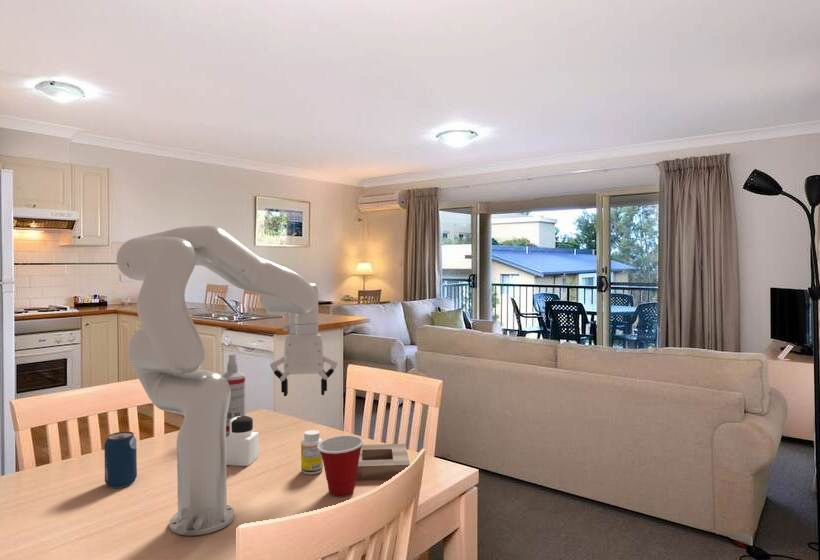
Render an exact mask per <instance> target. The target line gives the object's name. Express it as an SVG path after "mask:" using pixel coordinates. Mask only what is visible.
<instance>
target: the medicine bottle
mask: <svg viewBox="0 0 820 560" xmlns="http://www.w3.org/2000/svg"><path fill="white" fill-rule="evenodd" d="M253 422H254V420H253V417H252V416H247V415H246V416H238V417H234V418H232V419H231V420H230V434H228V435H227V436H226V466H237V467H238V466H239V467H240V466H241V467H249V466H250V465H251V464H252V463H254V462H255V461H256V460H257V459H258V458H259V456H260V455H259V454H260V451H259V446H260V445H259V443H260V442H259V440H260V439H259V432H258V431H253V430H254V429H253V428H254V427H253V426H254V424H253Z"/></svg>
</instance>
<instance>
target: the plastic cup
mask: <svg viewBox="0 0 820 560" xmlns="http://www.w3.org/2000/svg"><path fill="white" fill-rule="evenodd" d="M322 440H323V439H322ZM362 445H364V440H363V438H361V437H360V436H357V435H337V436H332V437H329V438H326V439H324V440H323V441H321V442H320V443H319V444H318V446H317V448H318V450H319V451H320V453H321V455H322V459H323V469H324V473H325V478H326V482H327V487H328V492H329V495H331V496H333V495H334V496H333V497H337V496H340V497H339V498H341V497H347V496H350V495H352V494H353V493H354V491H355V487H356V481H357V480H356V477H357V470H358V463H359V456H360V451H361V446H362Z"/></svg>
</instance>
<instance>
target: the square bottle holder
mask: <svg viewBox="0 0 820 560" xmlns="http://www.w3.org/2000/svg"><path fill="white" fill-rule="evenodd" d="M408 455H409V454H408V450H407V446H406V443H383V444H382V443H381V444H380V443H379V444H362V446H361V451H360V456H359V463H358V470H357V477H356V481H370V480H371V481H373V480H375V481H376V480H378V481H379V480H391V479H390V478H392V477H393V476H395V475H396V474H398V473H399V472H401V471H402V470H404V469H405V468H406V467H408V466H409V465H410V466H411V463H410V459H409V456H408Z"/></svg>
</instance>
